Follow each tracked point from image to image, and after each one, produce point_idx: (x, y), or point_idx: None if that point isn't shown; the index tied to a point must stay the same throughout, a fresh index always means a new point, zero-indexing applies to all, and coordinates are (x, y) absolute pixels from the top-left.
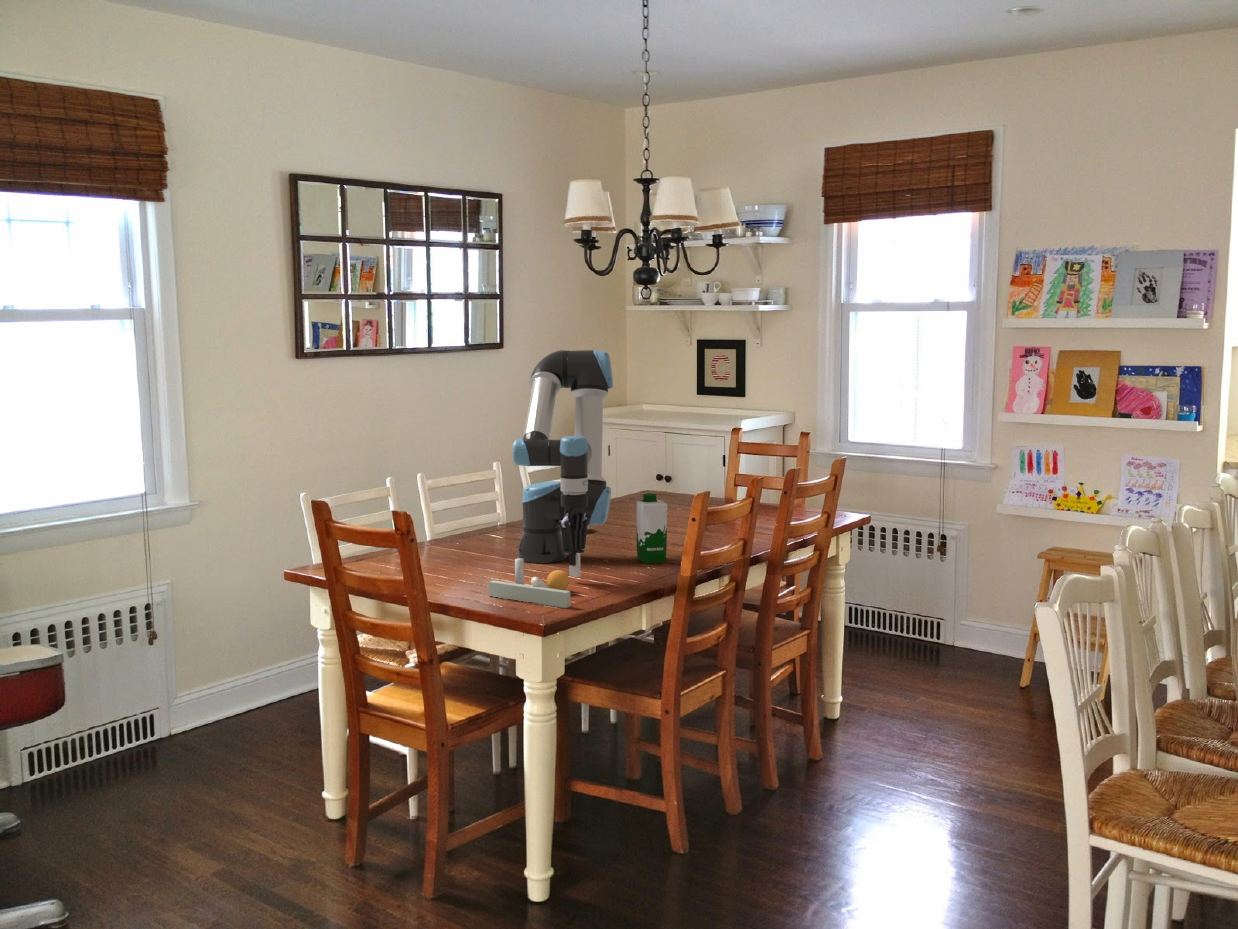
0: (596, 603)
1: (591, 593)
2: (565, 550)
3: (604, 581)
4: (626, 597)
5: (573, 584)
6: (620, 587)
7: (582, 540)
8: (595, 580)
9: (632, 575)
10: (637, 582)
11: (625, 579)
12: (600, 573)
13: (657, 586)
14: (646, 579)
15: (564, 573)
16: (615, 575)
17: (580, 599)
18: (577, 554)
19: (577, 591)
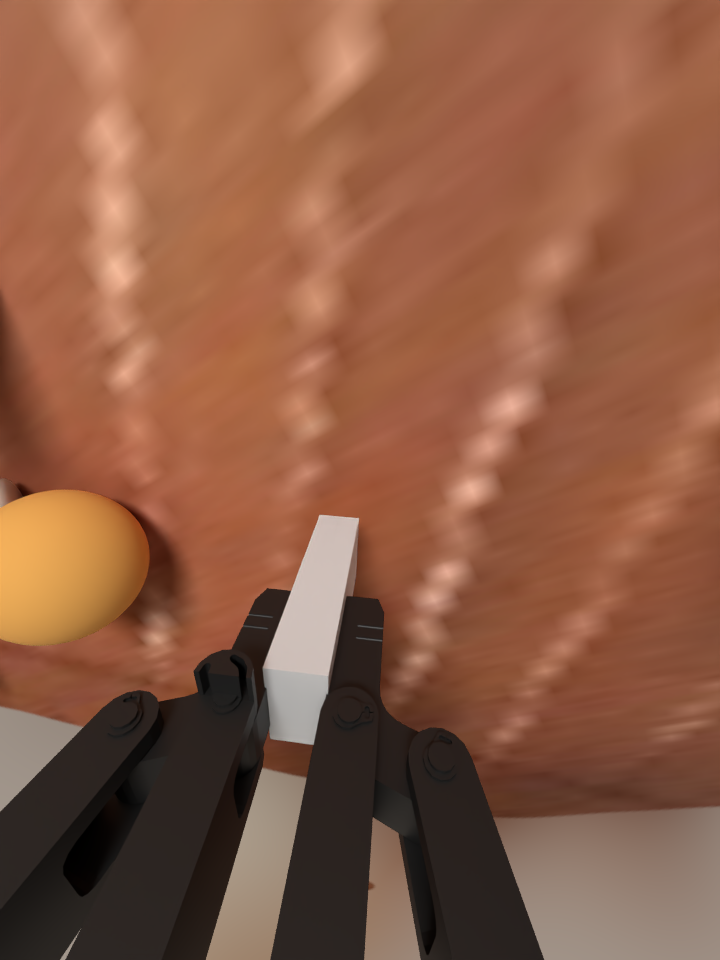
0: (97, 705)
1: (204, 654)
2: (102, 732)
3: (449, 636)
4: None
5: (308, 526)
6: None
7: (424, 949)
8: (454, 594)
9: (633, 705)
10: (485, 745)
11: (529, 699)
12: (658, 560)
13: None
14: (557, 760)
15: (35, 645)
16: (615, 643)
17: (95, 648)
18: (271, 736)
19: (193, 596)
